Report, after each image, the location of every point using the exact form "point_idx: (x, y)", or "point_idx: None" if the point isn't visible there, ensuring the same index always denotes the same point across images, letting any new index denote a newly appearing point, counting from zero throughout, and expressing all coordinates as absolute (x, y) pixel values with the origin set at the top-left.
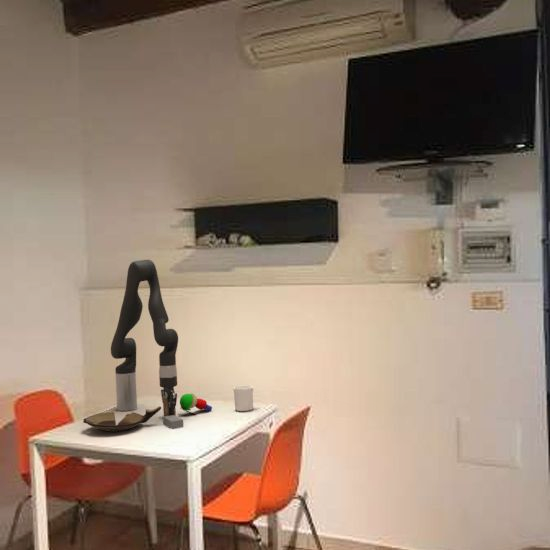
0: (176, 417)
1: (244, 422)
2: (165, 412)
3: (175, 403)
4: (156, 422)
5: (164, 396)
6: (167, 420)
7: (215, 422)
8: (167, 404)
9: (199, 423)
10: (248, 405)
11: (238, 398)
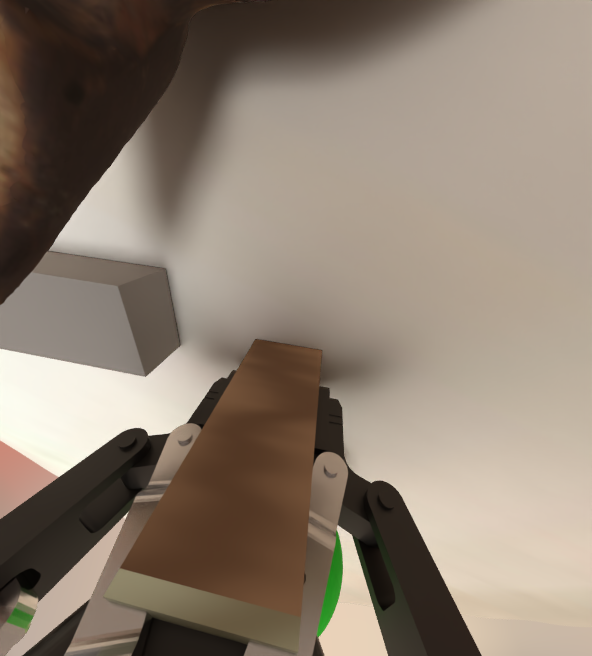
0: (57, 347)
1: (62, 473)
2: (268, 378)
3: (107, 488)
4: (245, 252)
5: (198, 617)
6: None
7: (91, 438)
8: (193, 453)
9: (96, 400)
10: None
11: None
